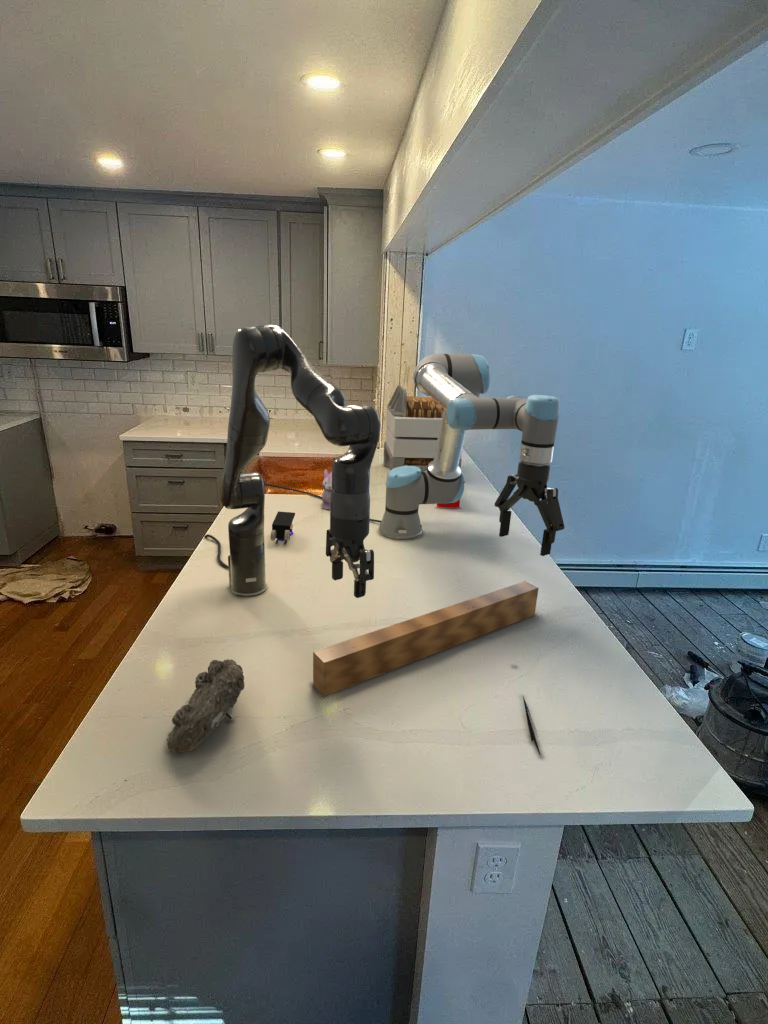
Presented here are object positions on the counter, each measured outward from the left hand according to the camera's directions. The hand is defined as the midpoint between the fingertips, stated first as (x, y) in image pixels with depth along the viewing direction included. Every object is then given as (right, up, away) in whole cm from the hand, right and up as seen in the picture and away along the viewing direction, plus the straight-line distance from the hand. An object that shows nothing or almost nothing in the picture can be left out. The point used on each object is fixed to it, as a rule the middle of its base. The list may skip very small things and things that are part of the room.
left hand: (348, 587), depth 113 cm
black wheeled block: (-27, +6, +78) cm, 83 cm away
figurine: (-13, +17, +111) cm, 113 cm away
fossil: (-26, -24, -5) cm, 35 cm away
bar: (+20, -17, +22) cm, 34 cm away
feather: (+36, -25, +2) cm, 43 cm away
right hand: (+42, +7, +28) cm, 51 cm away
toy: (+32, +21, +128) cm, 134 cm away
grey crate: (+24, +34, +162) cm, 167 cm away
